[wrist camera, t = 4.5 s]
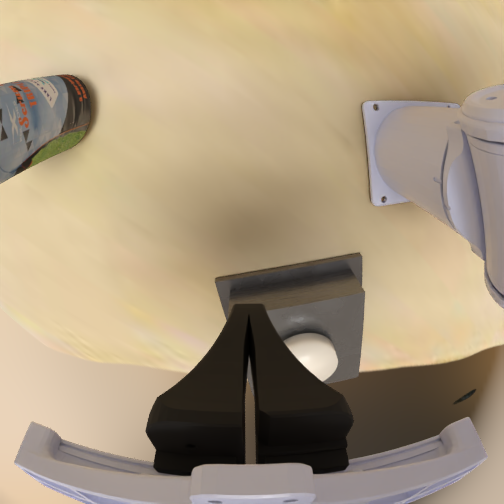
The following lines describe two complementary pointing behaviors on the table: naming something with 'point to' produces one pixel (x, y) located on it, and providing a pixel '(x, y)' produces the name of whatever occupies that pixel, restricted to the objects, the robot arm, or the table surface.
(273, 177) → the table surface
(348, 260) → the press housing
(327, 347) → the plunger
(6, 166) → the beverage can
